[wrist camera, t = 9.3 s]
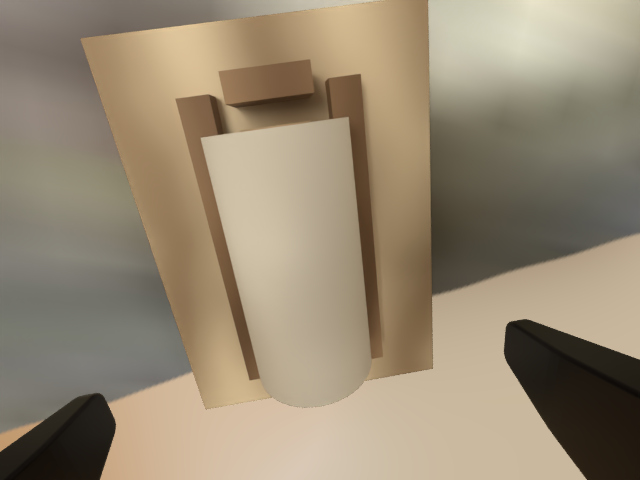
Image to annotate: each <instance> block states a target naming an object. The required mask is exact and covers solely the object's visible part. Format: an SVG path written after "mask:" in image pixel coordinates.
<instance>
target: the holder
mask: <svg viewBox="0 0 640 480" xmlns="http://www.w3.org/2000/svg"><path fill="white" fill-rule="evenodd" d="M80 39H81V42H82V45H83V48H84V51H85V54H86V57H87V60H88V63H89V66H90V69H91V72H92V75H93V78H94V81H95V84H96V86H97V89H98V92H99V95H100V98H101V101H102V104H103V107H104V110H105V113H106V116H107V119H108V122H109V125H110V128H111V131H112V134H113V137H114V140H115V143H116V146H117V149H118V152H119V155H120V158H121V161H122V164H123V166H124V169H125V172H126V175H127V178H128V181H129V184H130V187H131V190H132V193H133V196H134V199H135V202H136V205H137V208H138V211H139V214H140V217H141V220H142V223H143V226H144V229H145V232H146V235H147V238H148V241H149V243H150V246H151V249H152V252H153V255H154V258H155V261H156V264H157V267H158V270H159V273H160V276H161V279H162V282H163V285H164V288H165V291H166V294H167V297H168V300H169V303H170V306H171V309H172V312H173V315H174V318H175V321H176V323H177V326H178V329H179V332H180V335H181V338H182V341H183V344H184V347H185V350H186V353H187V356H188V359H189V362H190V365H191V368H192V371H193V374H194V377H195V380H196V383H197V386H198V389H199V391H200V395H201V398H202V401H203V403H204V406H205V409H211V408H216V407H222V406H227V405H233V404H238V403H243V402H250V401H255V400H261V399H266V398H272V397H271V396H270V395H269V394H268V393H267V392H266V390H265V389H264V387H263V385H262V383H261V380H260V376H259V371H258V367H257V363H256V359H255V355H254V351H253V347H252V343H251V339H250V335H249V331H248V327H247V323H246V319H245V315H244V311H243V307H242V303H241V299H240V295H239V291H238V287H237V283H236V279H235V275H234V271H233V267H232V263H231V259H230V255H229V251H228V247H227V243H226V239H225V235H224V231H223V227H222V223H221V219H220V215H219V211H218V207H217V203H216V199H215V195H214V191H213V187H212V183H211V178H210V174H209V170H208V166H207V162H206V158H205V154H204V150H203V146H202V142H201V138H202V137H209V136H215V135H222V134H229V133H236V132H240V130H248V129H255V128H262V127H269V126H276V125H283V124H290V123H297V122H304V121H310V122H314V121H321V120H329V119H336V118H343V117H349V126H350V137H351V147H352V158H353V169H354V179H355V190H356V200H357V211H358V221H359V232H360V242H361V253H362V264H363V274H364V285H365V295H366V306H367V316H368V327H369V338H370V348H371V359H372V363H371V369H370V372H369V374H368V376H367V378H366V380H365V381H367V380H372V379H378V378H383V377H389V376H395V375H399V374H406V373H411V372H417V371H422V370H428V369H433V349H432V348H433V347H432V346H433V345H432V344H433V343H432V342H433V341H432V266H431V190H430V115H429V39H428V0H385V1H377V2H369V3H361V4H352V5H344V6H336V7H328V8H320V9H312V10H304V11H296V12H288V13H280V14H272V15H264V16H256V17H248V18H240V19H232V20H224V21H216V22H208V23H200V24H192V25H184V26H176V27H168V28H160V29H152V30H144V31H136V32H128V33H120V34H112V35H104V36H96V37H88V38H80Z"/></svg>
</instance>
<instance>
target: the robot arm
mask: <svg viewBox="0 0 640 480" xmlns="http://www.w3.org/2000/svg"><path fill="white" fill-rule="evenodd" d="M504 355H505V359H506V361H507V363H508V365H509V366H510V368H511V370H512V371H513V373H514V374H515V376H516V378H517V379H518V381H519V382H520V384H521V385H522V387H523V389H524V390H525V392H526V394H527V395H528V397H529V398H530V400H531V402H532V403H533V405H534V406H535V408H536V410H537V411H538V413H539V414H540V416H541V418H542V419H543V421H544V422H545V424H546V425H547V427H548V428H549V429H550V431H551V432H552V434H553V435H554V436H555V438H556V439H557V440H558V442H559V443H560V445H561V446H562V447H563V449H564V450H565V451H566V452H567V454H568V455H569V456H570V458H571V459H572V460H573V462H574V463H575V464H576V466H577V467H578V468H579V469H580V471H581V472H582V474H583V475H584V476H585V478H586V479H587V480H640V360H639V359H636V358H633V357H631V356H628V355H625V354H622V353H620V352H617V351H614V350H611V349H608V348H606V347H603V346H600V345H597V344H595V343H592V342H589V341H586V340H583V339H581V338H578V337H575V336H572V335H570V334H567V333H564V332H561V331H558V330H555V329H553V328H550V327H547V326H544V325H542V324H539V323H536V322H533V321H531V320H527V319H523V320H517V321H511V322H509V323H508V324H507V326H506V332H505V345H504ZM115 429H116V423H115V419H114V417H113V415H112V413H111V410H110V408H109V406H108V404H107V402H106V400H105V398H104V396H103V395H102V394H100V393H94V394H88V395H82V396H79V397H77V398H75V399H74V400H72V401H71V402H70V403H68V404H67V405H65V406H64V407H63V408H61V409H60V410H58V411H57V412H56V413H54V414H53V415H51V416H50V417H48V418H47V419H46V420H44V421H43V422H41V423H40V424H39V425H37V426H36V427H34V428H33V429H32V430H31V431H29V432H28V433H26V434H25V435H23V436H22V437H20V438H19V439H18V440H17V441H15V442H14V443H12V444H11V445H10V446H8V447H7V448H5V449H4V450H2V451H1V452H0V480H100V477H101V474H102V471H103V468H104V465H105V462H106V459H107V456H108V452H109V450H110V447H111V443H112V440H113V437H114V434H115Z"/></svg>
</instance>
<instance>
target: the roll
mask: <svg viewBox="0 0 640 480" xmlns="http://www.w3.org/2000/svg"><path fill="white" fill-rule="evenodd" d="M201 142H202V146H203V150H204V154H205V158H206V162H207V166H208V170H209V174H210V178H211V183H212V187H213V191H214V195H215V199H216V203H217V207H218V211H219V215H220V219H221V223H222V227H223V231H224V235H225V239H226V243H227V247H228V251H229V255H230V259H231V263H232V267H233V271H234V275H235V279H236V283H237V287H238V291H239V295H240V299H241V303H242V307H243V311H244V315H245V319H246V323H247V327H248V331H249V335H250V339H251V343H252V347H253V351H254V355H255V359H256V363H257V367H258V371H259V376H260V380H261V383H262V385H263V387H264V389H265V390H266V392H267V393H268V394H269V395H270V396H271V397H273V398H274V399H276V400H277V401H279V402H281V403H284V404H287V405H290V406H295V407H304V408H305V407H319V406H324V405H328V404H332V403H334V402H337V401H339V400H341V399H344V398H345V397H347V396H349V395H350V394H352V393H353V392H354V391H355V390H357V389H358V388H359V387H360V386H361V385H362V384H363V382H364V381H365V380H366V378H367V376H368V374H369V372H370V369H371V363H372V359H371V348H370V338H369V327H368V316H367V306H366V295H365V285H364V274H363V264H362V253H361V242H360V232H359V221H358V211H357V200H356V190H355V179H354V169H353V158H352V147H351V137H350V126H349V117H343V118H336V119H329V120H321V121H314V122H310V121H304V122H297V123H290V124H283V125H276V126H269V127H262V128H255V129H248V130H240V132H236V133H229V134H222V135H215V136H209V137H202V138H201Z"/></svg>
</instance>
